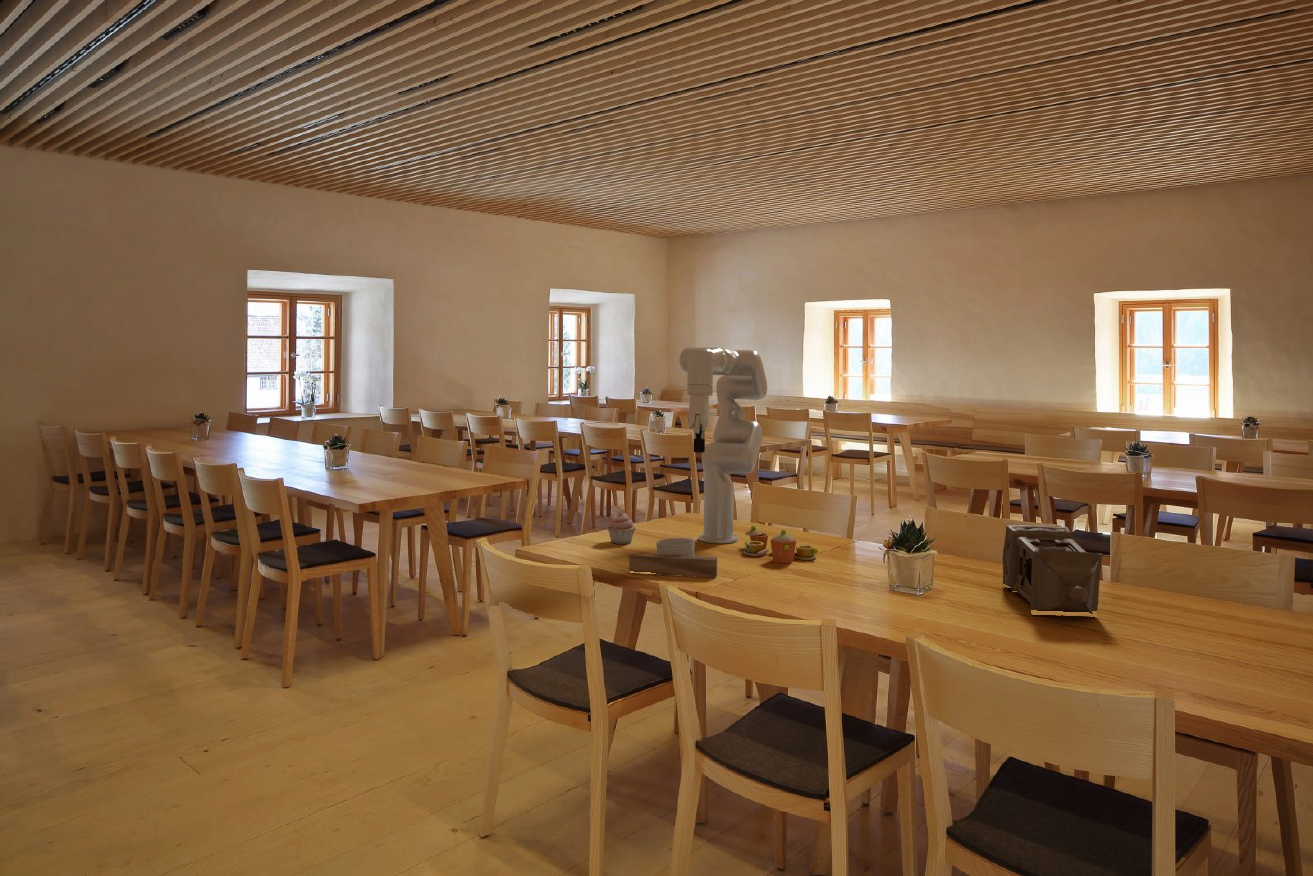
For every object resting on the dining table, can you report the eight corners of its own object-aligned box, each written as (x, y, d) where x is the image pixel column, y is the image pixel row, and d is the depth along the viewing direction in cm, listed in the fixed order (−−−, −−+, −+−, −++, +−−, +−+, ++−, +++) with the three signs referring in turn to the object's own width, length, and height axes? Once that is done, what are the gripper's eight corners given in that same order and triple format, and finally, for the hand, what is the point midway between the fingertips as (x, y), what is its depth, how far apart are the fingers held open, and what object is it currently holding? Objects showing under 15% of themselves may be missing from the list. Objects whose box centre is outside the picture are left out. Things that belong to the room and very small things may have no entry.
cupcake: (602, 541, 292) (602, 510, 291) (628, 538, 296) (629, 508, 295) (613, 547, 283) (613, 515, 282) (640, 544, 287) (640, 513, 286)
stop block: (631, 571, 254) (631, 553, 253) (717, 575, 250) (717, 557, 249) (629, 573, 251) (629, 556, 250) (715, 578, 247) (716, 559, 246)
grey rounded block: (673, 575, 250) (673, 546, 249) (648, 567, 258) (648, 539, 257) (710, 567, 259) (710, 539, 258) (684, 560, 267) (684, 533, 266)
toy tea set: (824, 559, 270) (824, 527, 269) (789, 567, 260) (790, 534, 259) (758, 544, 289) (759, 514, 288) (724, 551, 279) (725, 520, 278)
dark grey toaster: (1112, 643, 204) (1129, 564, 201) (1031, 629, 205) (1047, 550, 203) (1063, 596, 238) (1077, 528, 235) (994, 585, 240) (1007, 517, 237)
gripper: (690, 389, 276) (689, 449, 278) (683, 391, 262) (683, 455, 264) (715, 389, 275) (714, 449, 277) (709, 392, 260) (709, 455, 262)
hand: (699, 452), depth 270 cm, fingers closed
